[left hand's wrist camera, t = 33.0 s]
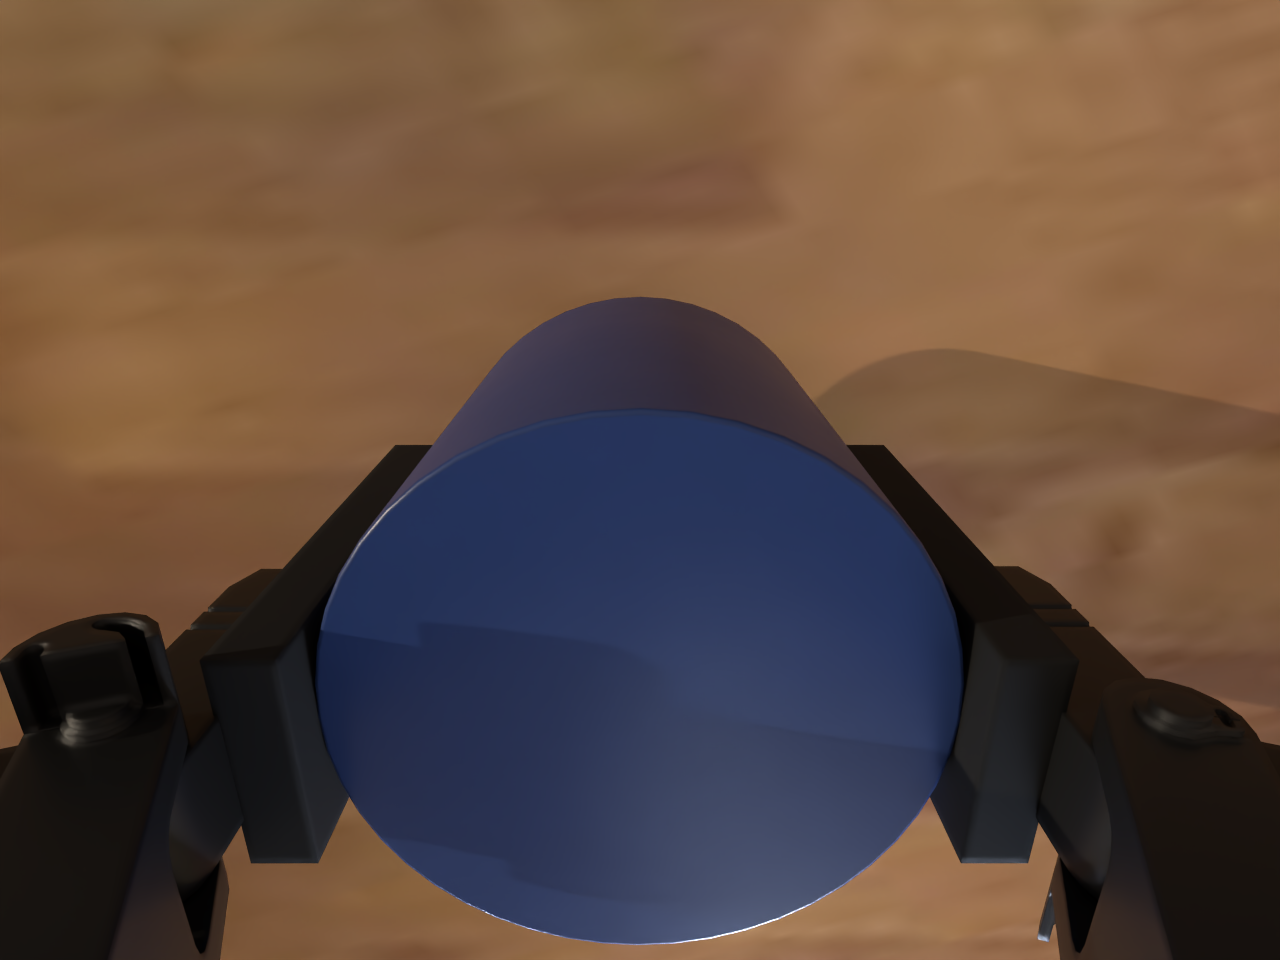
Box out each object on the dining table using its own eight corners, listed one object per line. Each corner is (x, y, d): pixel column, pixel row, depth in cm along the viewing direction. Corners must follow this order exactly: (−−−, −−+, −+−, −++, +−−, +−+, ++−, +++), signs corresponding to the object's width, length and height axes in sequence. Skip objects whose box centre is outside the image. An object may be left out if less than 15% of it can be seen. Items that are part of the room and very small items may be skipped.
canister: (884, 385, 15) (1100, 567, 8) (725, 673, 17) (782, 1005, 10) (531, 233, 14) (421, 287, 7) (415, 563, 16) (249, 850, 9)
